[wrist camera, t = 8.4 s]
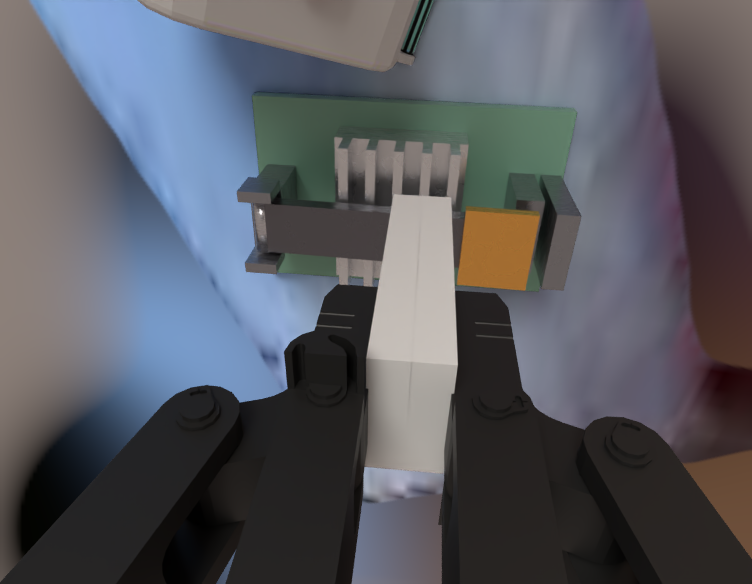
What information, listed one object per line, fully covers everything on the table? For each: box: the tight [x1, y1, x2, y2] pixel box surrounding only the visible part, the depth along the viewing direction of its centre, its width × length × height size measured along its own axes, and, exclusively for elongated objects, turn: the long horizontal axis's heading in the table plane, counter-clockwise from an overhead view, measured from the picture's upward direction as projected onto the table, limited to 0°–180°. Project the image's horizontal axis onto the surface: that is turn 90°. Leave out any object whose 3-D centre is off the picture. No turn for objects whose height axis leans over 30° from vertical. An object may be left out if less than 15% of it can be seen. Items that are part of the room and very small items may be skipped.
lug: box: [503, 173, 581, 290], centre depth 43 cm, size 6×4×8 cm
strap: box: [252, 198, 540, 291], centre depth 42 cm, size 6×21×2 cm, turn 88°
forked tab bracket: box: [237, 164, 298, 274], centre depth 45 cm, size 7×2×8 cm, turn 178°
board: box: [252, 92, 577, 292], centre depth 48 cm, size 16×25×1 cm, turn 88°
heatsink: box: [334, 126, 469, 287], centre depth 45 cm, size 12×10×6 cm
